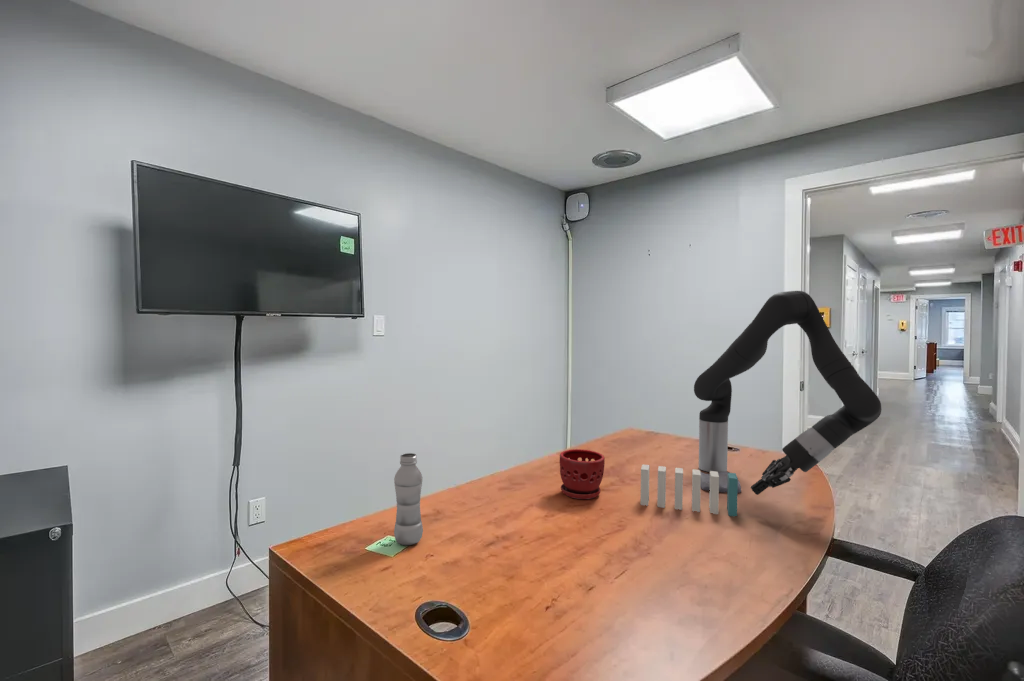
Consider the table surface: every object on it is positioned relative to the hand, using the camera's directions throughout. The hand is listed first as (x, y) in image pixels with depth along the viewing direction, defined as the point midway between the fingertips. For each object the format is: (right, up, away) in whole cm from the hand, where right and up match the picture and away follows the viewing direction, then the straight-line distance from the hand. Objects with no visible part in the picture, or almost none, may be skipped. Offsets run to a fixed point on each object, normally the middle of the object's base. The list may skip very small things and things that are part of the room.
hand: (753, 491), depth 128 cm
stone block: (0, -6, +22) cm, 23 cm away
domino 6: (-5, -6, +2) cm, 8 cm away
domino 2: (-22, -6, +8) cm, 24 cm away
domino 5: (-9, -6, +3) cm, 12 cm away
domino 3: (-18, -6, +6) cm, 20 cm away
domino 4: (-13, -6, +5) cm, 16 cm away
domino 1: (-26, -6, +9) cm, 28 cm away
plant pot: (-43, -6, +15) cm, 46 cm away
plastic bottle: (-87, -7, -17) cm, 89 cm away
